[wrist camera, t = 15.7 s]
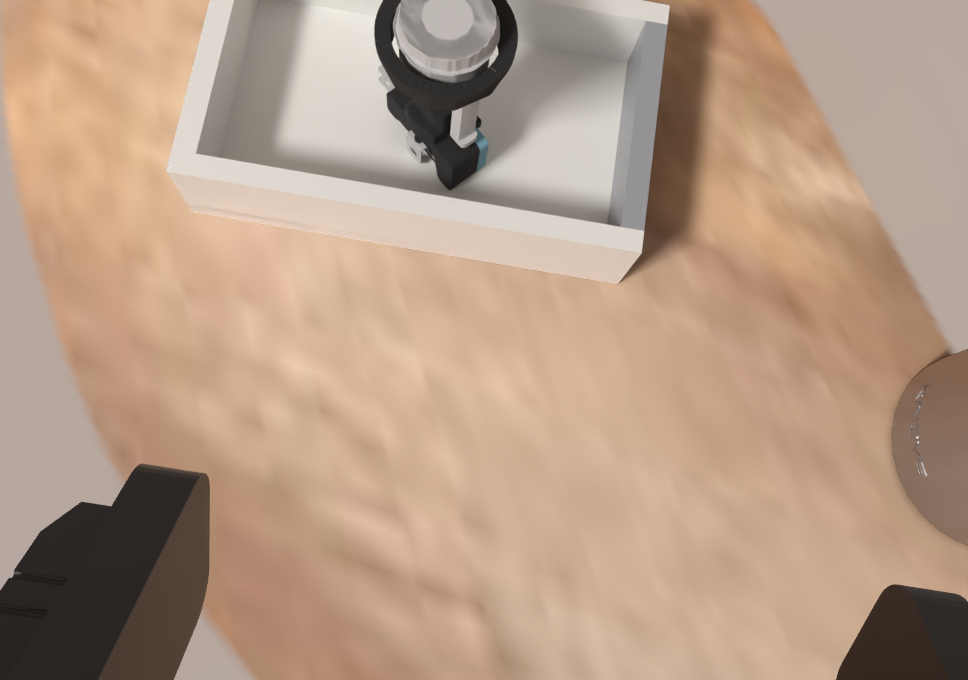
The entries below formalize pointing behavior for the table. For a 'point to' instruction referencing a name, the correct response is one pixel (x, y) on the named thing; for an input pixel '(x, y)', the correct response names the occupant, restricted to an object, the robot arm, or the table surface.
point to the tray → (396, 173)
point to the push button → (444, 75)
